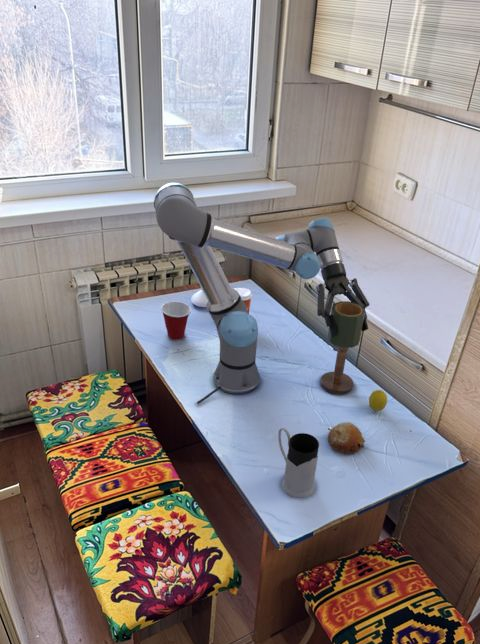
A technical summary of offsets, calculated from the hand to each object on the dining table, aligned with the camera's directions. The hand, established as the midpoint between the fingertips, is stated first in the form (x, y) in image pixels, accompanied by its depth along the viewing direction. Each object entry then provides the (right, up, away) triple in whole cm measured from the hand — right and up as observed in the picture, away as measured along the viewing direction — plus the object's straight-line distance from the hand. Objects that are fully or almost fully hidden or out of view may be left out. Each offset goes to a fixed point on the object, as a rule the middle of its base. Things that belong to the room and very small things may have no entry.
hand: (350, 333), depth 174 cm
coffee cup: (-36, +4, +42) cm, 55 cm away
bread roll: (-3, -33, -10) cm, 34 cm away
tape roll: (-1, -2, +4) cm, 5 cm away
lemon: (+9, -25, +4) cm, 26 cm away
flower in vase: (-52, +14, +55) cm, 76 cm away
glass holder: (-19, -40, -23) cm, 50 cm away
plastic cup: (-59, 0, +33) cm, 68 cm away
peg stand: (-3, -17, +14) cm, 22 cm away
